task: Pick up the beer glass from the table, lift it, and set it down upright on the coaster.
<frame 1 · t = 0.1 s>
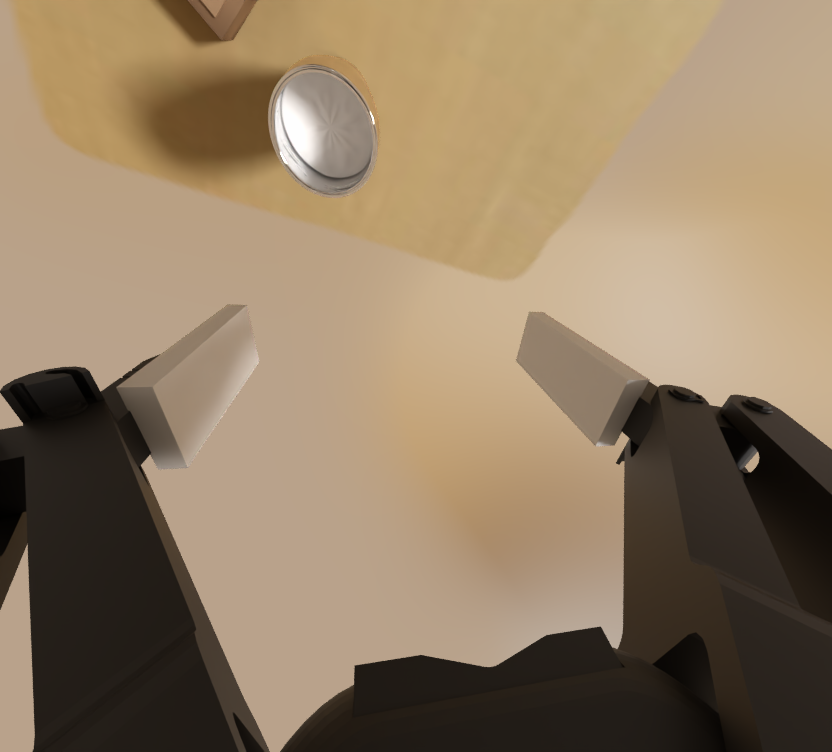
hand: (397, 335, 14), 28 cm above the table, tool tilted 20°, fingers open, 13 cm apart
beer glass: (340, 103, 28), on the table
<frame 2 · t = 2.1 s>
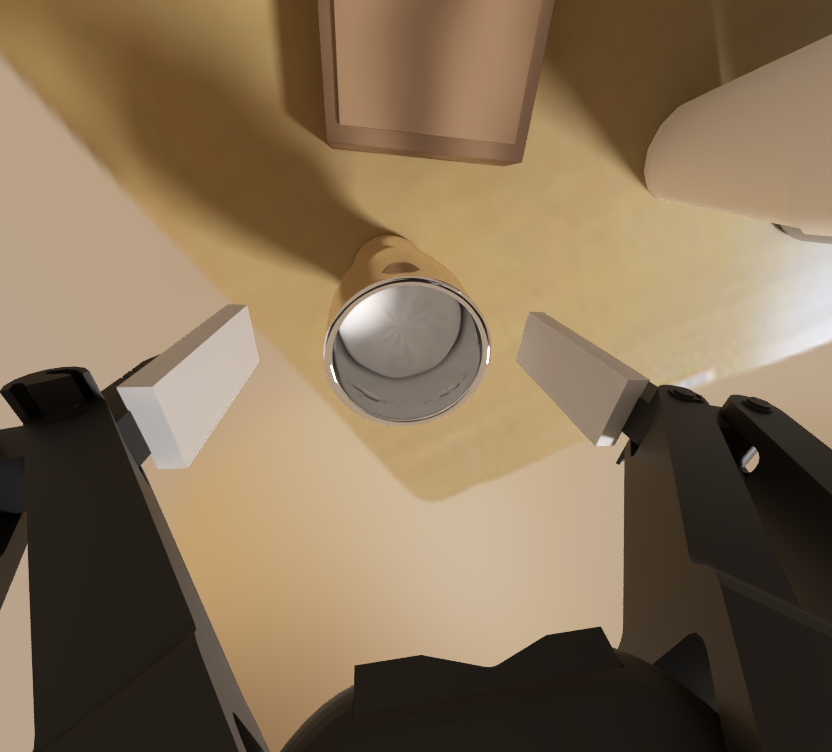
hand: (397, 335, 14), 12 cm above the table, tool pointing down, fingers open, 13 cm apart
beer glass: (389, 275, 25), on the table
foam cup: (682, 152, 23), on the table
coaster: (430, 32, 18), on the table
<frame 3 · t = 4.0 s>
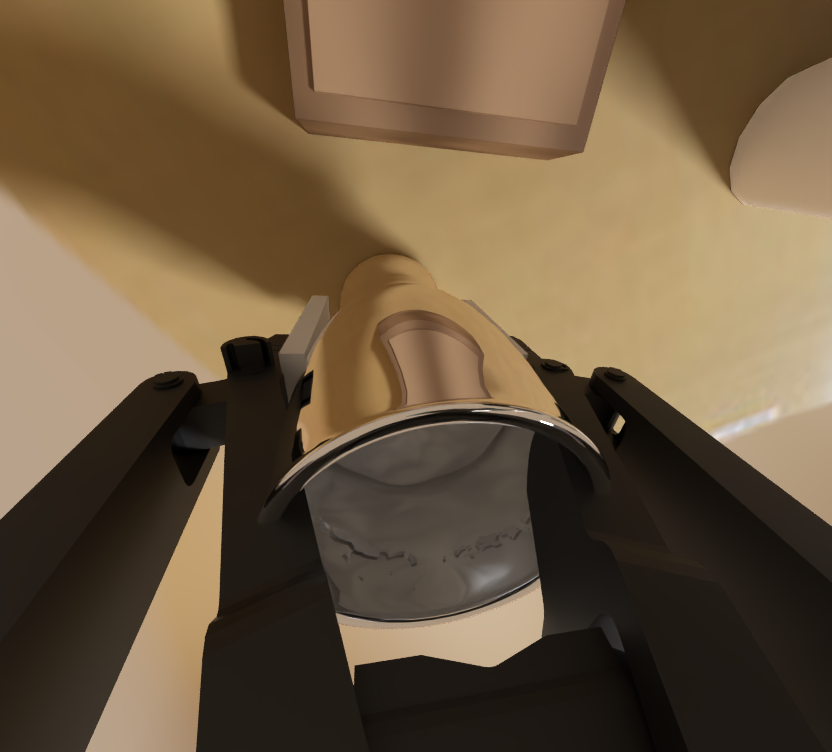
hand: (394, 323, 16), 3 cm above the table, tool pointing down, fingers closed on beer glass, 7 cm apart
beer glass: (390, 305, 19), on the table, touching gripper
foam cup: (781, 142, 17), on the table
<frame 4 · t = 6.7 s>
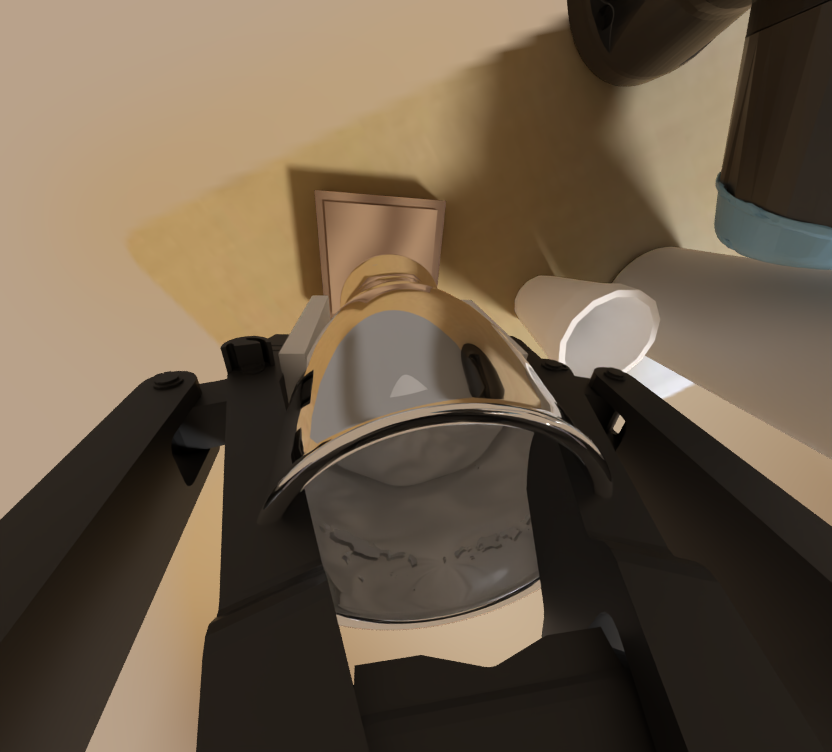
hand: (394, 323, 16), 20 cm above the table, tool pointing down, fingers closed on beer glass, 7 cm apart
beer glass: (390, 305, 18), point 17 cm above the table, touching gripper
cylinder vase: (642, 296, 40), on the table
foam cup: (537, 300, 38), on the table
coaster: (380, 259, 33), on the table
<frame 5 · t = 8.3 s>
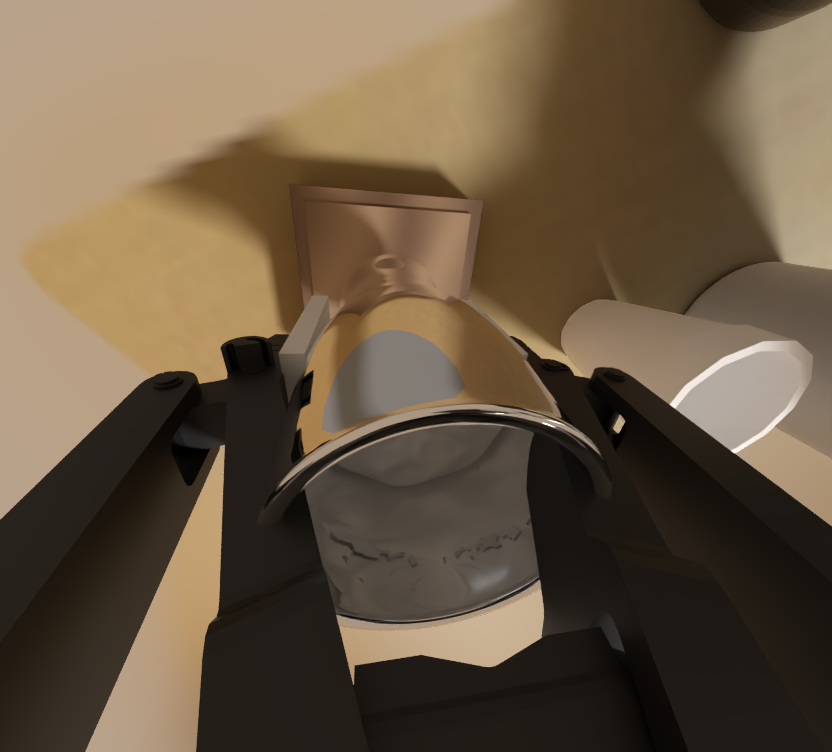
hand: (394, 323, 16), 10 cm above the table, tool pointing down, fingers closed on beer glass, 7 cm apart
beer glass: (390, 305, 18), point 6 cm above the table, touching gripper
cylinder vase: (723, 323, 31), on the table
foam cup: (590, 330, 29), on the table
coaster: (386, 280, 24), on the table
when the fingers open (7 cm above the table, at t = 9.6 s): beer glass drops 1 cm, resting on coaster.
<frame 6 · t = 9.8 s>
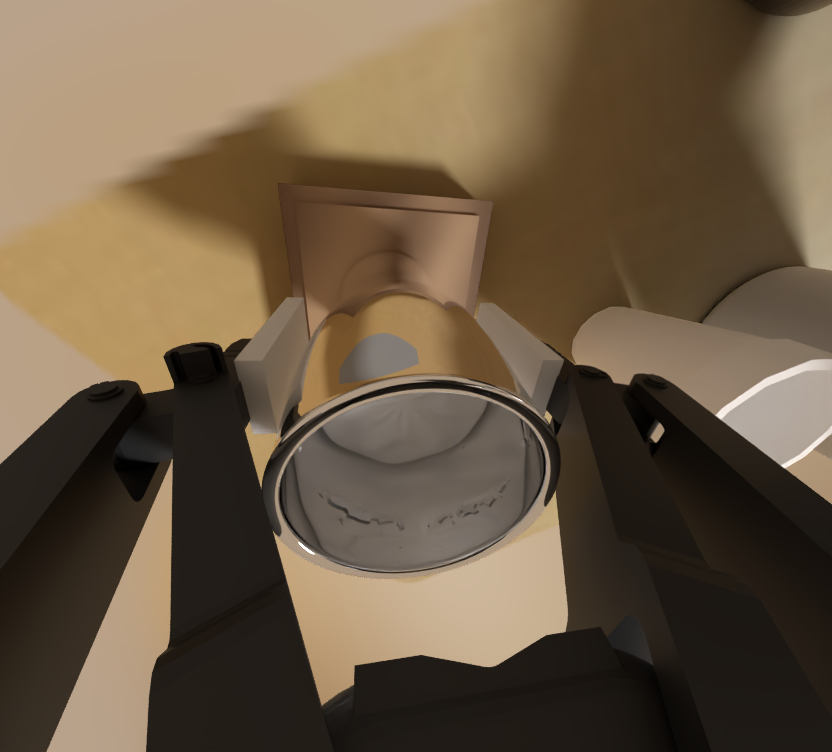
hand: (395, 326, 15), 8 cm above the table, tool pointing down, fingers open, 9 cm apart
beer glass: (388, 300, 20), point 3 cm above the table, touching coaster
cylinder vase: (742, 330, 29), on the table
foam cup: (603, 338, 27), on the table
coaster: (386, 288, 22), on the table
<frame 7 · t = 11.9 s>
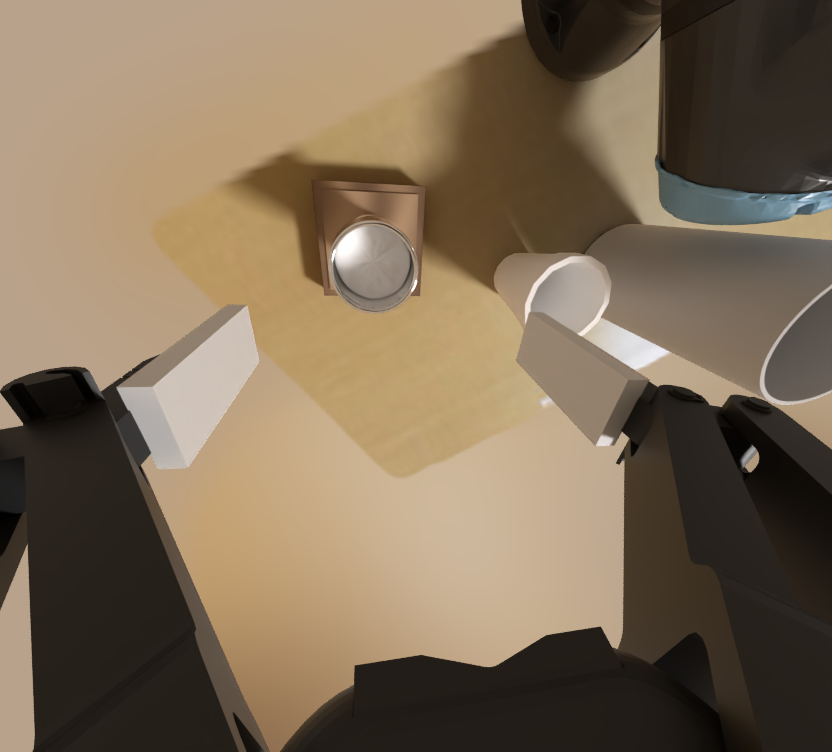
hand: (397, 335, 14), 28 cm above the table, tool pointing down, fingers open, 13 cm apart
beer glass: (371, 244, 35), point 3 cm above the table, touching coaster
cylinder vase: (611, 270, 44), on the table
foam cup: (514, 276, 42), on the table
coaster: (371, 241, 37), on the table
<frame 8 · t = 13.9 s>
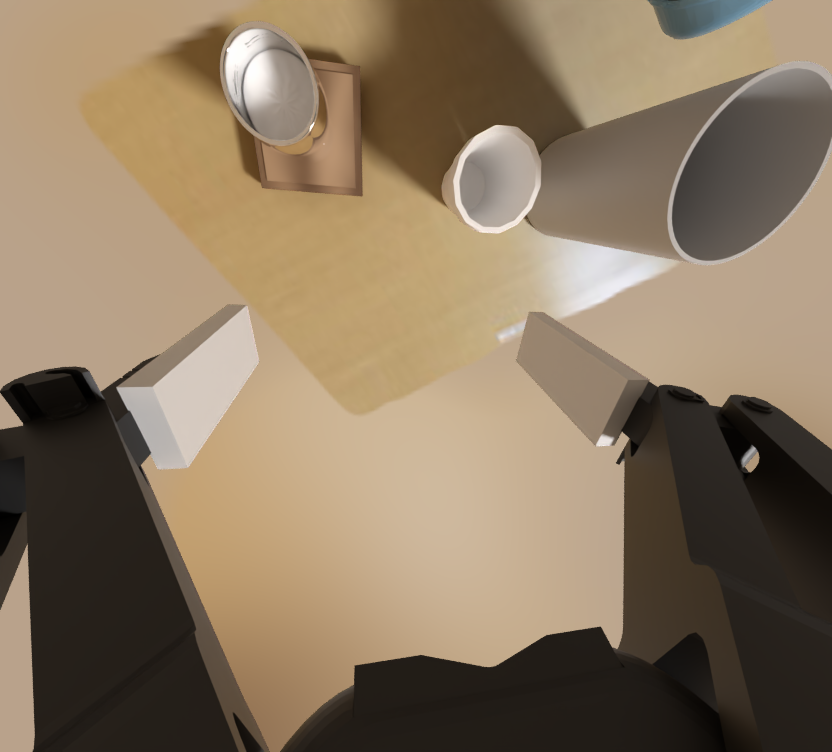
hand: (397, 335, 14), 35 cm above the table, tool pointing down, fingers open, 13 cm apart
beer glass: (307, 131, 34), point 3 cm above the table, touching coaster
cylinder vase: (562, 189, 44), on the table
foam cup: (462, 188, 42), on the table
coaster: (312, 135, 37), on the table
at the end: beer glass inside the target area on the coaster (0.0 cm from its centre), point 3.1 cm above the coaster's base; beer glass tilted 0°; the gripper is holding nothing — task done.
